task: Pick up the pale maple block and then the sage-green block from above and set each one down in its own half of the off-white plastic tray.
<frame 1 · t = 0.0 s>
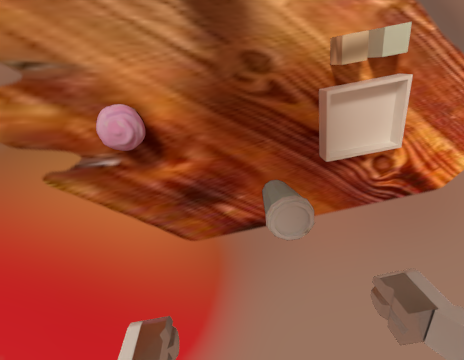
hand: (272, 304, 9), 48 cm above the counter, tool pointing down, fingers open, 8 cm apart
maple block: (341, 49, 49), on the counter
tray: (356, 117, 56), on the counter
cupcake: (131, 120, 52), on the counter
disposable coffee cup: (274, 188, 63), on the counter
sage block: (379, 42, 49), on the counter
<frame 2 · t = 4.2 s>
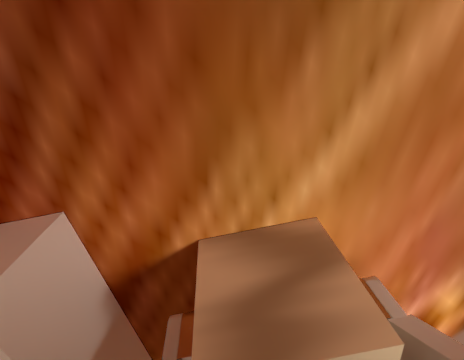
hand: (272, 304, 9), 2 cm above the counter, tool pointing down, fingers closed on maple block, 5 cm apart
maple block: (264, 271, 11), on the counter, touching gripper
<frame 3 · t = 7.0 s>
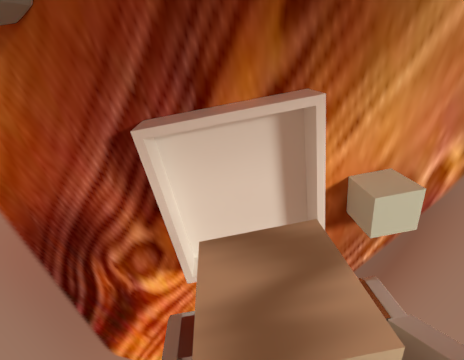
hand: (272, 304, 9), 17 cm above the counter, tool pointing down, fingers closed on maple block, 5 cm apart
maple block: (264, 272, 11), point 16 cm above the counter, touching gripper
tray: (239, 186, 27), on the counter
sage block: (367, 190, 29), on the counter
when the fingers open (5 cm above the counter, at t = 9.8 s): maple block drops 2 cm, resting on tray.
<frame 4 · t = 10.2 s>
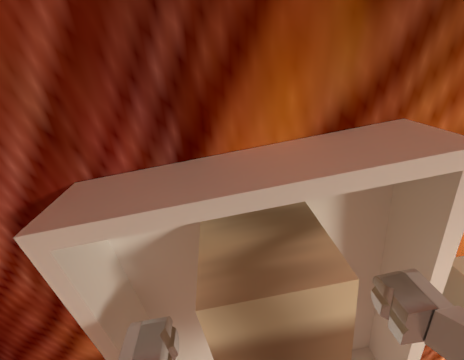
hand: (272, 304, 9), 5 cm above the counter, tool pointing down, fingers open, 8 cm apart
maple block: (257, 244, 13), point 1 cm above the counter, touching tray
tray: (261, 280, 15), on the counter
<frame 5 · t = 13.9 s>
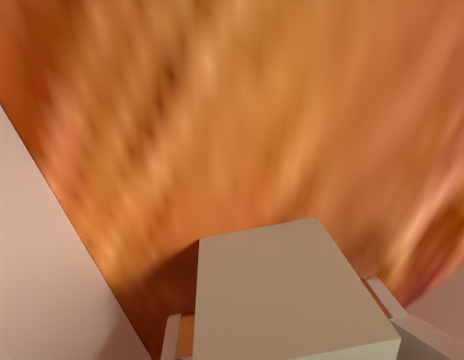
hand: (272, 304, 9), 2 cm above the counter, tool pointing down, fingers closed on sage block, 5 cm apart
sage block: (263, 268, 11), on the counter, touching gripper
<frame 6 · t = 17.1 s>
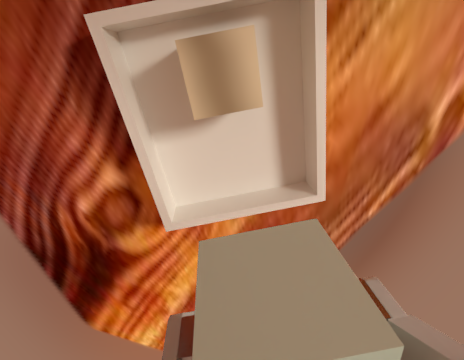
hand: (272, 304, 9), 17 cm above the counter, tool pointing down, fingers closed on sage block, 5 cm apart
maple block: (219, 73, 20), point 1 cm above the counter, touching tray
tray: (226, 116, 23), on the counter
sage block: (264, 271, 11), point 15 cm above the counter, touching gripper
when the fingers open (5 cm above the counter, at t = 19.8 s): sage block drops 2 cm, resting on tray.
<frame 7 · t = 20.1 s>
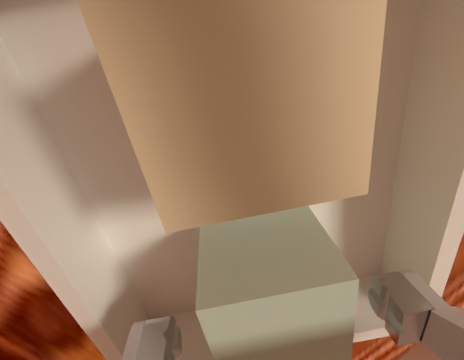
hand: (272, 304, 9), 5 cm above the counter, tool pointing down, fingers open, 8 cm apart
maple block: (231, 87, 9), point 1 cm above the counter, touching tray
tray: (242, 169, 12), on the counter
sage block: (257, 244, 13), point 1 cm above the counter, touching tray
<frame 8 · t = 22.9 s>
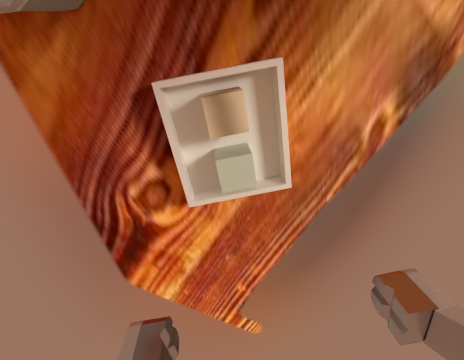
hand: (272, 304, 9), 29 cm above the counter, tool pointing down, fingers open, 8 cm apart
maple block: (223, 108, 33), point 1 cm above the counter, touching tray
tray: (228, 133, 36), on the counter
sage block: (233, 160, 37), point 1 cm above the counter, touching tray
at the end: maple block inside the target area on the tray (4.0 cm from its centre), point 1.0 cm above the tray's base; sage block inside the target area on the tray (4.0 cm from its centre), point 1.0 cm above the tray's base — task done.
